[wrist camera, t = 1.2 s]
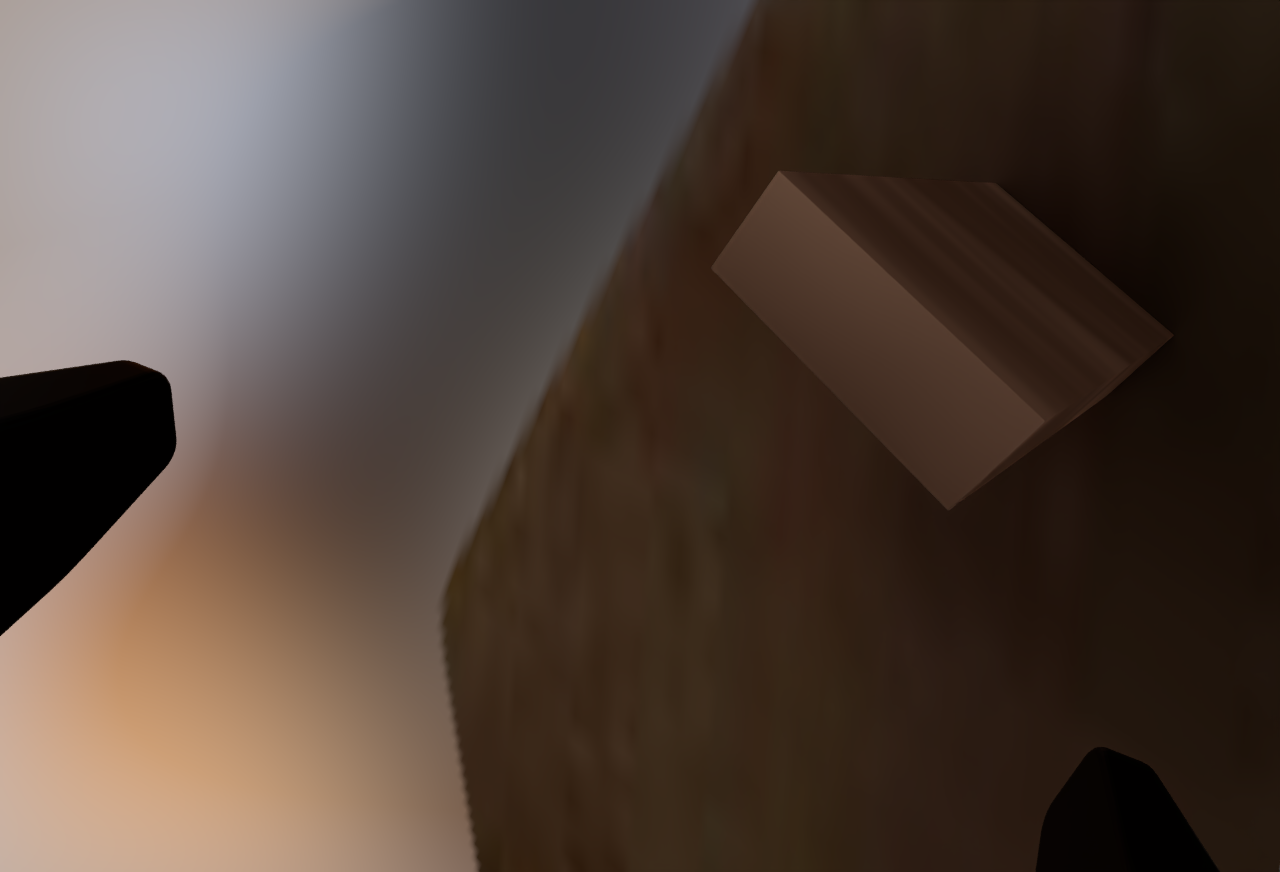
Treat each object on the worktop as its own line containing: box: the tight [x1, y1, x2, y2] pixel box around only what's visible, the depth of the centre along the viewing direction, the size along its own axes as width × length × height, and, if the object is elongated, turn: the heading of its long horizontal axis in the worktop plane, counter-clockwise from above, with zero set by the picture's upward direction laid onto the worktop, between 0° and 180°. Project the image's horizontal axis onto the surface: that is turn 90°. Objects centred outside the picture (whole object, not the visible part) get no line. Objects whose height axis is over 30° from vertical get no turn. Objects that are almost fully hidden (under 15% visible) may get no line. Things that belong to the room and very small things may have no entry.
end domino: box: [711, 171, 1174, 511], centre depth 17 cm, size 2×5×10 cm, turn 52°
